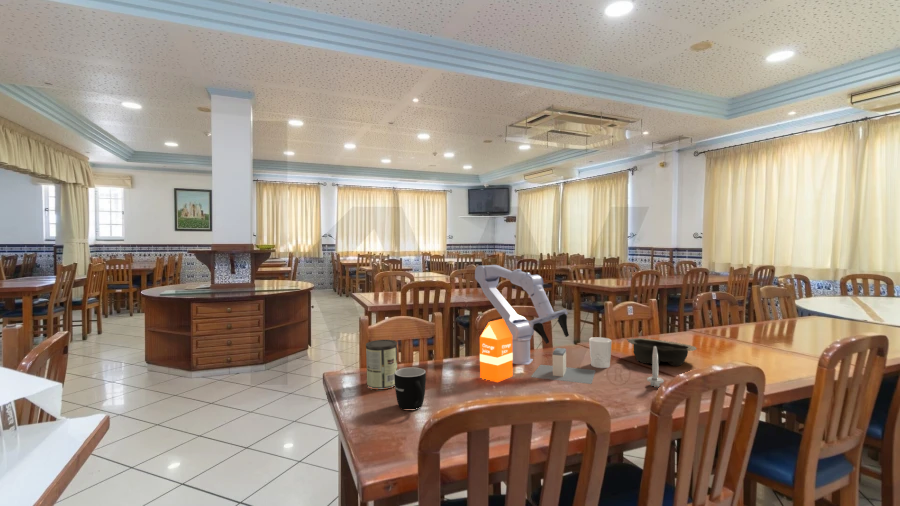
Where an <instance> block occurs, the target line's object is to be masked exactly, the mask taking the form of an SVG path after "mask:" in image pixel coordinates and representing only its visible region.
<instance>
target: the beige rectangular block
mask: <svg viewBox="0 0 900 506" xmlns="http://www.w3.org/2000/svg"><path fill="white" fill-rule="evenodd" d="M552 366H553V375H554V376H564V374H565V372H566V367H567V348H562V347H556V348H554V350H553V352H552Z"/></svg>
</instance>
